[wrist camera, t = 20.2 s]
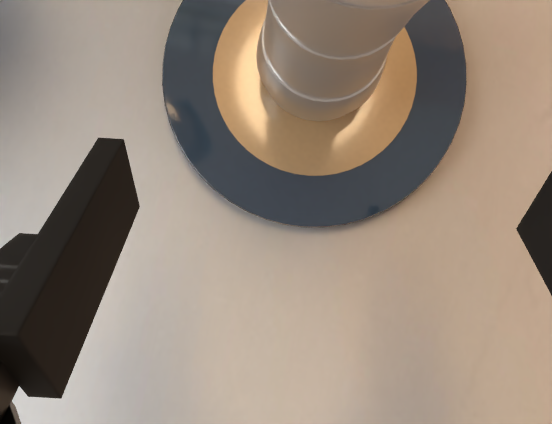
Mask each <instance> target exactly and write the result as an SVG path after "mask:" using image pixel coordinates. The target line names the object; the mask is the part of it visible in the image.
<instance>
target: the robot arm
mask: <svg viewBox="0 0 552 424" xmlns="http://www.w3.org/2000/svg"><path fill="white" fill-rule="evenodd" d="M139 207H140V206H139V202H138V197H137V193H136V189H135V185H134V181H133V176H132V172H131V168H130V164H129V160H128V155H127V151H126V147H125V143H124V139H110V138H98V139H97V141H96V142H95V144H94V146H93V147H92V149H91V150H90V152H89V154H88V155H87V157H86V158H85V160H84V162H83V163H82V165H81V166H80V168H79V170H78V171H77V173H76V174H75V176H74V178H73V179H72V181H71V182H70V184H69V186H68V187H67V189H66V190H65V192H64V194H63V195H62V197H61V198H60V200H59V201H58V203H57V205H56V206H55V208H54V209H53V211H52V213H51V214H50V216H49V217H48V219H47V221H46V222H45V224H44V225H43V227H42V229H41V230H40V232H39V233H38V234H23V233H19V234H18V235H17V236H15V237H14V238H13V239H12V240H10V241H9V242H8V243H7V244H5V245H4V246H3V247H1V249H0V424H21V422H20V419H19V416H18V413H17V410H16V407H15V405H14V404H13V402H12V399H13V397H14V395H15V393H16V391H17V389H18V387H19V386H20V387H21V388H22V390H23V391H24V392H25V393H26V394H27V396H29V397H46V398H62V395H63V393H64V390H65V388H66V385H67V383H68V380H69V378H70V376H71V373H72V371H73V368H74V366H75V363H76V361H77V358H78V356H79V354H80V351H81V349H82V346H83V344H84V341H85V339H86V336H87V334H88V332H89V329H90V327H91V324H92V322H93V319H94V317H95V314H96V312H97V310H98V307H99V305H100V302H101V300H102V297H103V295H104V293H105V290H106V288H107V285H108V283H109V280H110V278H111V275H112V273H113V271H114V268H115V266H116V263H117V261H118V258H119V256H120V253H121V251H122V249H123V246H124V244H125V241H126V239H127V236H128V234H129V231H130V229H131V227H132V224H133V222H134V219H135V217H136V214H137V212H138V209H139ZM516 229H517V231H518V233H519V235H520V237H521V239H522V241H523V242H524V244H525V246H526V248H527V250H528V252H529V254H530V256H531V257H532V259H533V261H534V263H535V265H536V267H537V269H538V271H539V272H540V274H541V276H542V278H543V280H544V282H545V284H546V286H547V287H548V289H549V291H550V293H551V295H552V172H551V173H550V175H549V177H548V178H547V180H546V181H545V183H544V185H543V186H542V188H541V190H540V191H539V193H538V194H537V196H536V198H535V199H534V201H533V202H532V204H531V206H530V207H529V209H528V211H527V212H526V214H525V215H524V217H523V219H522V220H521V222H520V224H519V225H518V227H517V228H516Z"/></svg>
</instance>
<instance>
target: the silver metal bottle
mask: <svg viewBox="0 0 552 424" xmlns="http://www.w3.org/2000/svg"><path fill="white" fill-rule="evenodd" d="M428 1H429V0H268V5H267V12H266V18H265V20H264V22H263V25H262V28H261V32H260V35H259V39H258V44H257V53H256V60H257V68H258V72H259V75H260V78H261V81H262V82H263V84H264V86H265V88H266V89H267V91H268V93H269V94H270V96H271V97H272V98H273V100H274V101H275V102H276V103H277V104H278V105H279V106H280V107H281V108H283V109H284V110H285V111H286V112H288V113H290V114H292V115H294V116H296V117H298V118H302V119H305V120H310V121H329V120H333V119H336V118H340V117H342V116H344V115H346V114H348V113H350V112H352V111H354V110H356V109H357V108H359V107H360V106H361V105H362V104H364V103H365V102H366V101H367V100H368V99H369V97H370V96H371V95H372V94H373V93H374V91H375V89H376V87H377V85H378V83H379V81H380V78H381V76H382V73H383V70H384V66H385V63H386V59H387V54H388V52H389V50H390V48H391V45H392V43H393V41H394V39H395V37H396V36H397V35H398V34H399V32H400V31H401V30H402V29H403V27H404V26H405V25H406V24H407V23H408V21H409V20H410V19H411V18H412V16H413V15H414V14H415V13H416V12H417V11H418V10H419V9H421V8H422V7H423V6H424V5H425V4H426V3H427V2H428Z"/></svg>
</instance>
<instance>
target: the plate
mask: <svg viewBox="0 0 552 424" xmlns="http://www.w3.org/2000/svg"><path fill="white" fill-rule="evenodd" d="M267 5H268V0H183V2H182V3H181V5H180V7H179V8H178V11H177V13H176V15H175V18H174V20H173V22H172V25H171V27H170V31H169V34H168V38H167V42H166V45H165V52H164V59H163V82H162V85H163V93H164V101H165V107H166V110H167V114H168V118H169V122H170V125H171V127H172V130H173V132H174V135H175V137H176V139H177V142H178V144H179V145H180V147H181V149H182V151H183V152H184V154H185V156H186V158H187V159H188V161H189V162H190V163H191V165H192V166H193V167H194V168H195V170H196V171H197V172H198V174H199V175H200V176H201V177H202V178H203V179H204V180H205V181H206V182H207V183H208V184H209V185H210V186H211V187H212V188H213V189H214V190H215V191H217V192H218V193H219V194H221V195H222V196H223V197H224V198H226V199H227V200H228V201H230V202H231V203H233V204H235V205H237V206H238V207H240V208H242V209H244V210H245V211H247V212H249V213H251V214H254V215H256V216H259V217H261V218H264V219H266V220H270V221H273V222H277V223H281V224H285V225H292V226H300V227H330V226H337V225H345V224H349V223H352V222H356V221H360V220H363V219H366V218H369V217H371V216H374V215H376V214H378V213H381V212H383V211H385V210H387V209H388V208H390V207H392V206H393V205H395V204H397V203H399V202H400V201H402V200H403V199H404V198H406V197H407V196H408V195H409V194H411V193H412V192H413V191H415V190H416V189H417V188H418V187H419V186H420V185H421V184H422V183H423V182H424V181H425V180H426V179H427V178H428V177H429V176H430V175H431V173H432V172H433V171H434V169H435V168H436V167H437V165H438V164H439V163H440V161H441V160H442V159H443V157H444V155H445V153H446V151H447V150H448V148H449V146H450V144H451V143H452V140H453V138H454V135H455V133H456V130H457V128H458V125H459V123H460V119H461V115H462V111H463V107H464V101H465V92H466V61H465V55H464V48H463V43H462V40H461V36H460V33H459V29H458V26H457V24H456V22H455V19H454V17H453V15H452V12H451V10H450V8H449V6H448V5H447V3H446V1H445V0H429V1H428V2H427V3H426V4H425V5H424V6H423V7H422V8H421V9H419V10H418V11H417V12H416V13H415V14H414V15H413V16H412V18H411V19H410V20H409V21H408V23H407V24H406V25H405V26H404V27H403V29H402V30H401V31H400V32H399V34H398V35H397V36H396V37H395V39H394V41H393V43H392V45H391V48H390V50H389V52H388V54H387V59H386V63H385V66H384V70H383V73H382V76H381V78H380V81H379V83H378V85H377V87H376V89H375V91H374V93H373V94H372V95H371V96H370V97H369V99H368V100H367V101H366V102H365V103H364V104H362V105H361V106H360V107H359V108H357V109H356V110H354V111H352V112H350V113H348V114H346V115H344V116H342V117H340V118H336V119H333V120H329V121H310V120H305V119H302V118H298V117H296V116H294V115H292V114H290V113H288V112H286V111H285V110H284V109H283V108H281V107H280V106H279V105H278V104H277V103H276V102H275V101H274V100H273V98H272V97H271V96H270V94H269V93H268V91H267V89H266V88H265V86H264V84H263V82H262V81H261V78H260V75H259V72H258V68H257V60H256V53H257V44H258V39H259V35H260V32H261V28H262V25H263V22H264V20H265V18H266V12H267Z"/></svg>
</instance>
